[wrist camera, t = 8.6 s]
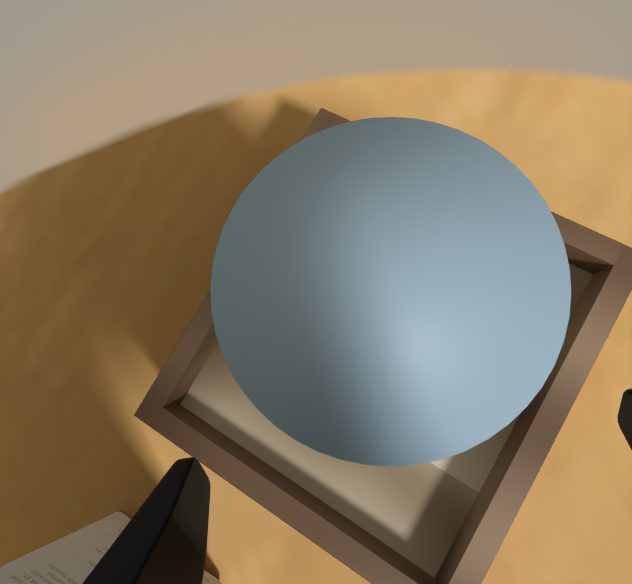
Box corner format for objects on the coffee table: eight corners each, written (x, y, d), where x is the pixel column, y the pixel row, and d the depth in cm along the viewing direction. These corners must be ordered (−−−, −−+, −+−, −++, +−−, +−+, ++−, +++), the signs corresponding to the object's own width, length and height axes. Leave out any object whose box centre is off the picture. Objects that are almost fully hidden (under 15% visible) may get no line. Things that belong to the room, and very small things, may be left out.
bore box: (435, 579, 16) (452, 640, 13) (180, 406, 19) (134, 415, 15) (592, 279, 18) (649, 255, 14) (331, 155, 20) (321, 108, 17)
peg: (422, 399, 18) (569, 495, 4) (328, 388, 18) (186, 438, 5) (428, 304, 18) (572, 119, 5) (337, 297, 19) (234, 115, 5)
